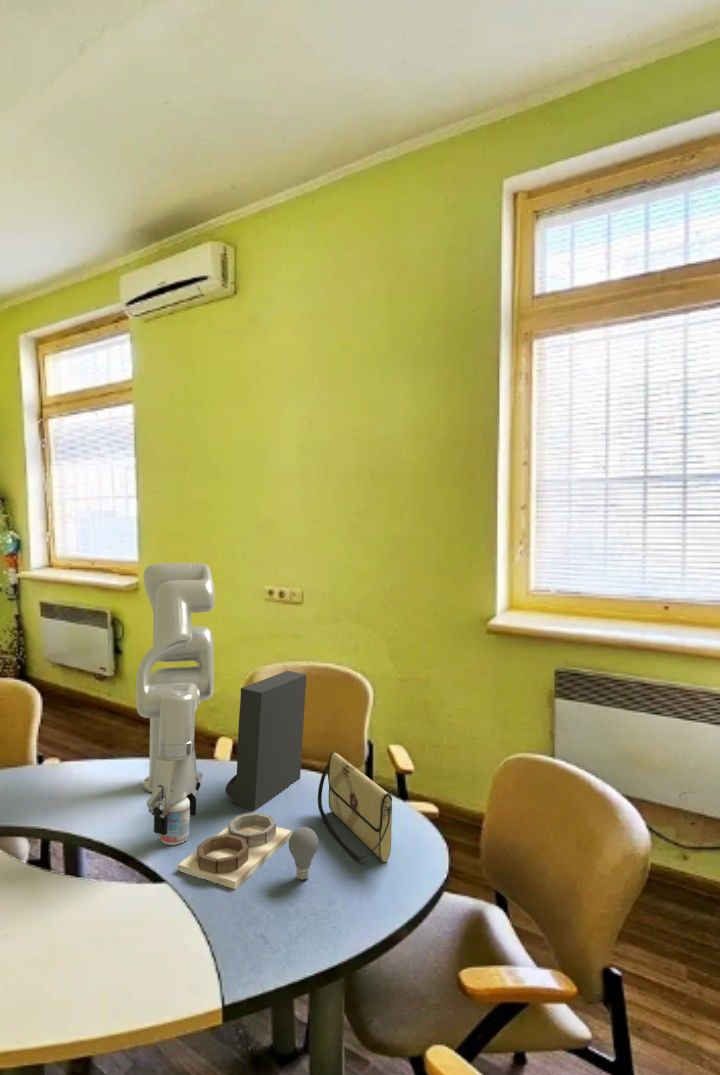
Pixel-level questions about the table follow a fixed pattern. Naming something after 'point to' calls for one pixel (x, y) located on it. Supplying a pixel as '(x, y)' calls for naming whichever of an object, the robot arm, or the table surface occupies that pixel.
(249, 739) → the dark gray upright block
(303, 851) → the light bulb
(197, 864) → the holder board
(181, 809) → the pill bottle
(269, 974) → the table surface
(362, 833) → the clutch purse
